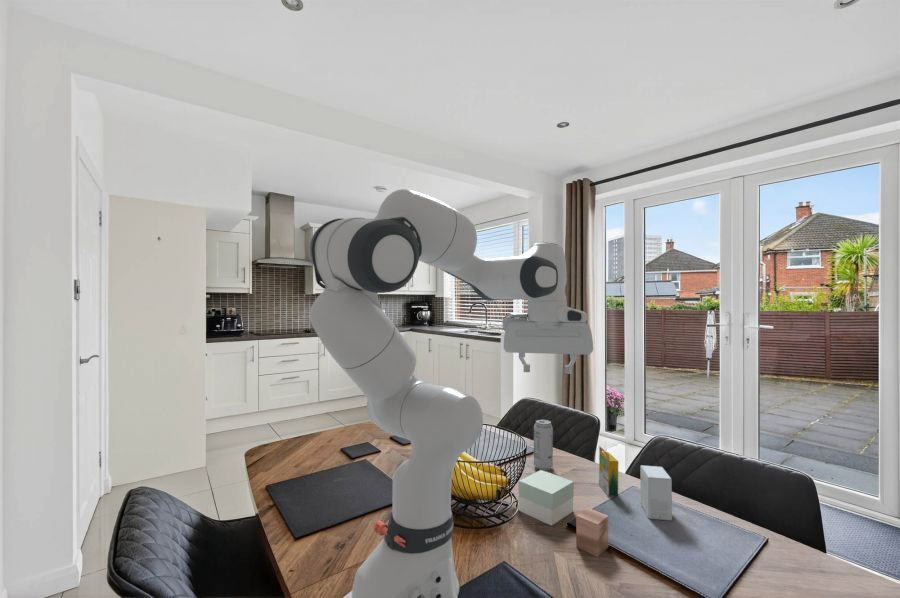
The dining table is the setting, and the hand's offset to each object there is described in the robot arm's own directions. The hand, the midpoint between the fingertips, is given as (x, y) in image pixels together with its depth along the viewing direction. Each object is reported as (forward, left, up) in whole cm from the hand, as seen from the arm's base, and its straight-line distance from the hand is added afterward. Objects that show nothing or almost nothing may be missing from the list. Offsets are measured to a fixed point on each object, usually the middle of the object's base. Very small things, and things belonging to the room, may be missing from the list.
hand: (547, 372), depth 97 cm
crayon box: (+32, 0, -38) cm, 50 cm away
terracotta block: (+3, -10, -38) cm, 39 cm away
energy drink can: (+32, +22, -38) cm, 55 cm away
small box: (+29, -14, -38) cm, 50 cm away
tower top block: (+9, +6, -34) cm, 36 cm away
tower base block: (+9, +6, -38) cm, 40 cm away
